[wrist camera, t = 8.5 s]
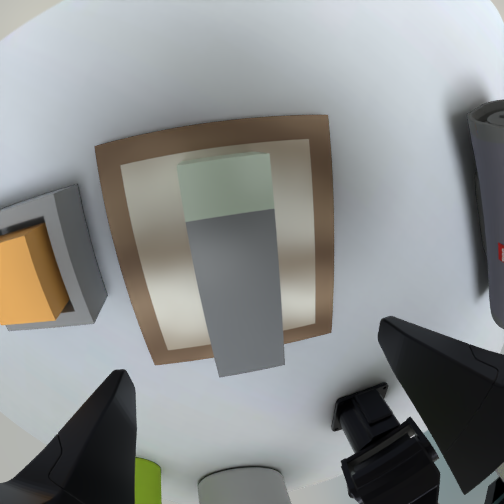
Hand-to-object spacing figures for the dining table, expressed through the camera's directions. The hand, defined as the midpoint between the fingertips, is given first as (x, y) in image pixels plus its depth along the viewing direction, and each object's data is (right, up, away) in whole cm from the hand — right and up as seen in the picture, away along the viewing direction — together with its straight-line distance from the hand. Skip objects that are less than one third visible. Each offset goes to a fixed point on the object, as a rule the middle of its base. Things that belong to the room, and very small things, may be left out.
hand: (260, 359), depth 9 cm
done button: (-14, +2, +5) cm, 15 cm away
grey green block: (-2, +3, +9) cm, 10 cm away
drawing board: (-2, +4, +10) cm, 11 cm away
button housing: (-15, +3, +7) cm, 17 cm away
